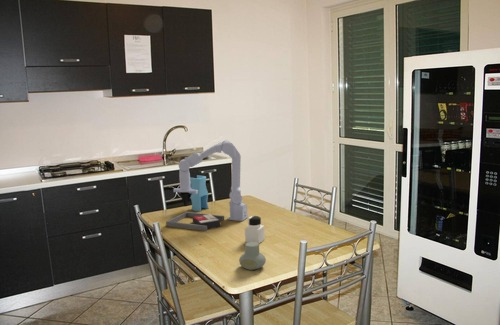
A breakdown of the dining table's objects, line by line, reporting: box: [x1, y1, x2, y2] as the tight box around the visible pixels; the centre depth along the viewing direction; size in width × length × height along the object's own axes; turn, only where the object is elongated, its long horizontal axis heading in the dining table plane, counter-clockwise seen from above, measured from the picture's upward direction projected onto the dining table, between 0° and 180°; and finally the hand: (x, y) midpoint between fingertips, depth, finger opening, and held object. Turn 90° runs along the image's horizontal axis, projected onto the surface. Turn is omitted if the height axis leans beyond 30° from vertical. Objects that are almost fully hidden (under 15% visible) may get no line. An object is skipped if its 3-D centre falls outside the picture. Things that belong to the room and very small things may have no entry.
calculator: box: [192, 213, 221, 230], centre depth 249 cm, size 11×4×15 cm
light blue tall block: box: [190, 175, 210, 213], centre depth 278 cm, size 8×8×20 cm
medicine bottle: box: [244, 215, 265, 245], centre depth 220 cm, size 7×7×12 cm
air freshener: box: [238, 242, 267, 271], centre depth 189 cm, size 11×8×10 cm
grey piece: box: [165, 211, 225, 232], centre depth 252 cm, size 25×20×2 cm
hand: (186, 205), depth 252 cm, fingers closed
